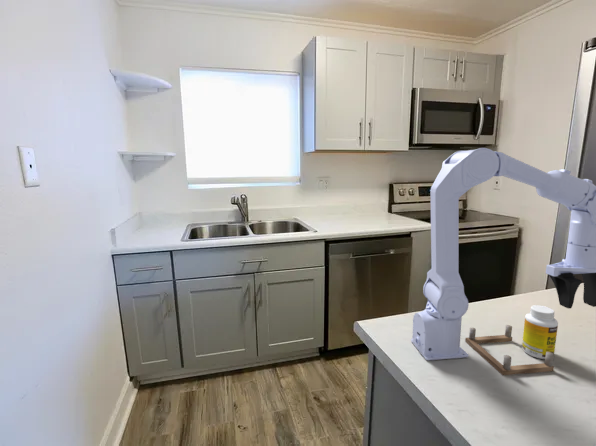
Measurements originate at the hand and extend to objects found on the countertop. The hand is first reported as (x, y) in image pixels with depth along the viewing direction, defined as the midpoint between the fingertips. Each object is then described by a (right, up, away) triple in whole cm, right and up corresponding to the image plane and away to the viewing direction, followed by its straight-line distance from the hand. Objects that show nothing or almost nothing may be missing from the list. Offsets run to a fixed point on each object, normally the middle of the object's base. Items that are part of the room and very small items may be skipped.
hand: (577, 305), depth 66 cm
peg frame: (-15, -11, +1) cm, 18 cm away
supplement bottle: (-8, -11, +1) cm, 13 cm away
